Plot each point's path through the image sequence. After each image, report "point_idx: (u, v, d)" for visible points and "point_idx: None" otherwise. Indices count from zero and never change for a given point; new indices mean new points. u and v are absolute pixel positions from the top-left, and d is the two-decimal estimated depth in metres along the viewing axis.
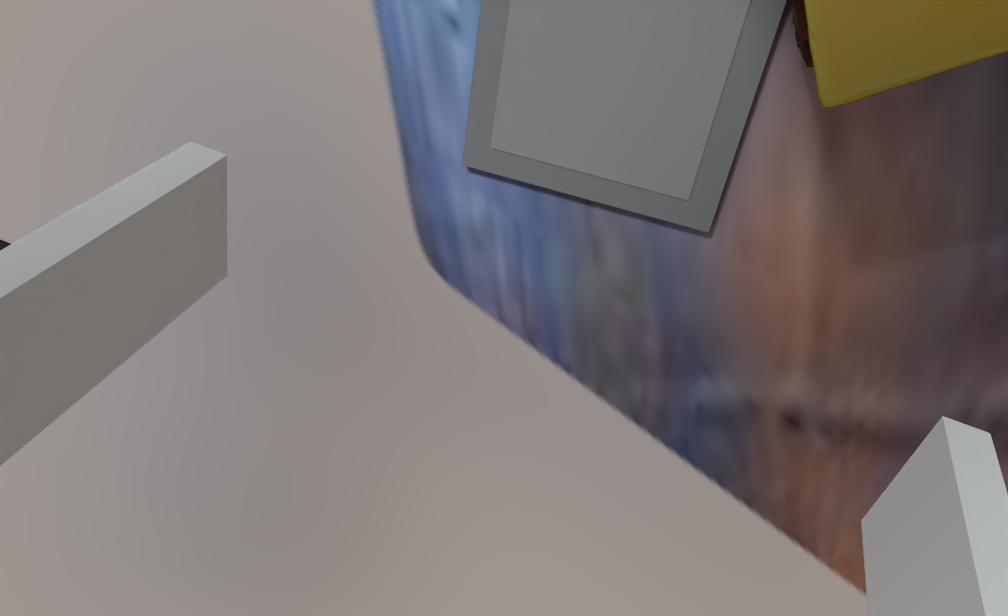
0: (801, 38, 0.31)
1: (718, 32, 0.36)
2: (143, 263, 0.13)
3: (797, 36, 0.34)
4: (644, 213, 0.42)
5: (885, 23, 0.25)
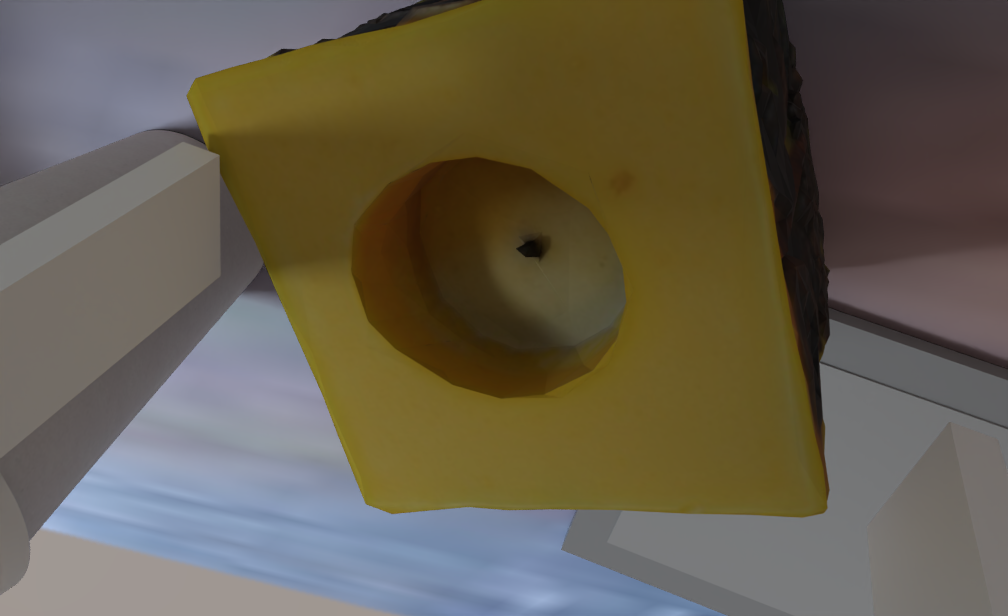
0: None
1: None
2: (135, 264, 0.13)
3: None
4: None
5: (680, 411, 0.14)
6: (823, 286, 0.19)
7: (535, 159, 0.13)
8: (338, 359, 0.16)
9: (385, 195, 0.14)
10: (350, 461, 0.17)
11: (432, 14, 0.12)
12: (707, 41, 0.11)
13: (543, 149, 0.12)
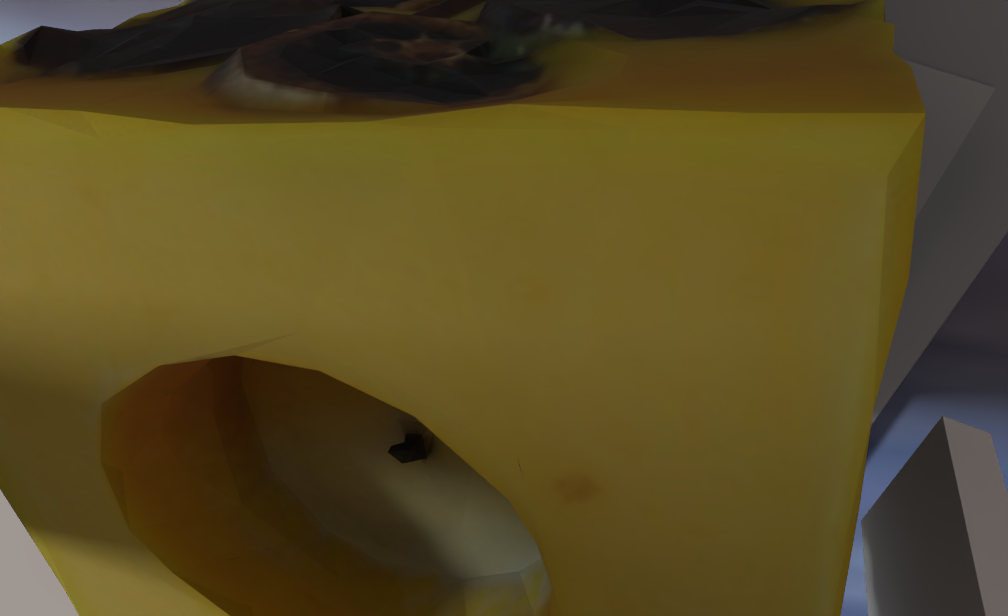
0: None
1: None
2: None
3: None
4: None
5: None
6: None
7: (424, 408, 0.07)
8: (85, 561, 0.10)
9: (163, 368, 0.08)
10: None
11: (256, 101, 0.06)
12: (806, 328, 0.05)
13: (441, 399, 0.06)
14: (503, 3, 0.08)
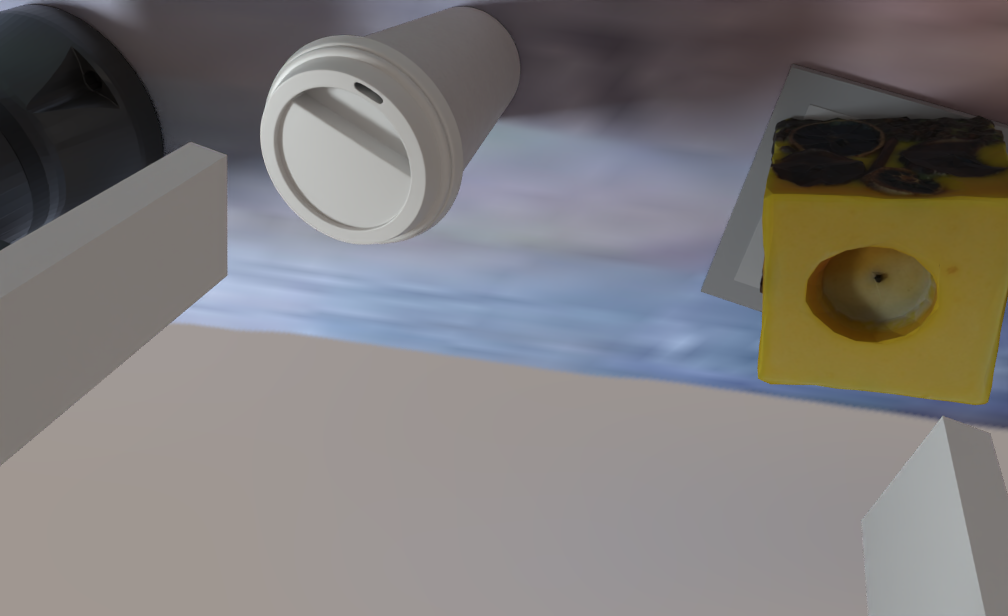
0: None
1: None
2: (143, 263, 0.13)
3: None
4: None
5: (939, 356, 0.34)
6: None
7: (918, 254, 0.32)
8: (781, 313, 0.35)
9: (837, 253, 0.33)
10: (759, 358, 0.37)
11: (893, 193, 0.32)
12: (1007, 231, 0.30)
13: (924, 252, 0.32)
14: (918, 165, 0.33)
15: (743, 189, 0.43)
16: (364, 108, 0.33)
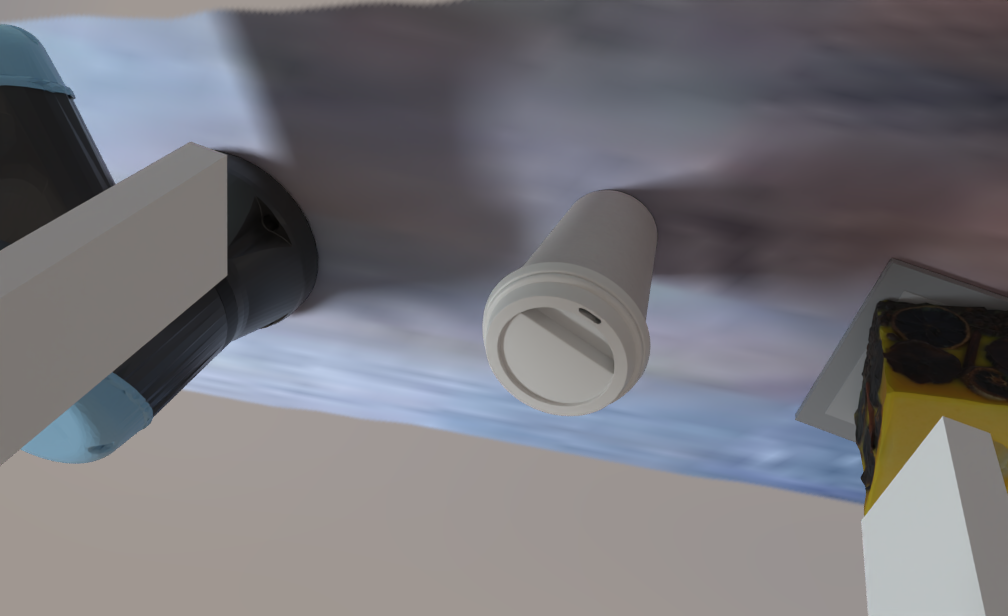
0: None
1: None
2: (143, 263, 0.13)
3: None
4: None
5: None
6: None
7: (1006, 443, 0.42)
8: (890, 474, 0.45)
9: None
10: (867, 503, 0.46)
11: (990, 398, 0.41)
12: None
13: None
14: (1005, 368, 0.43)
15: (841, 347, 0.53)
16: (575, 317, 0.42)
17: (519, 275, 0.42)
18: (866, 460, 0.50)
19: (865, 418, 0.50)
